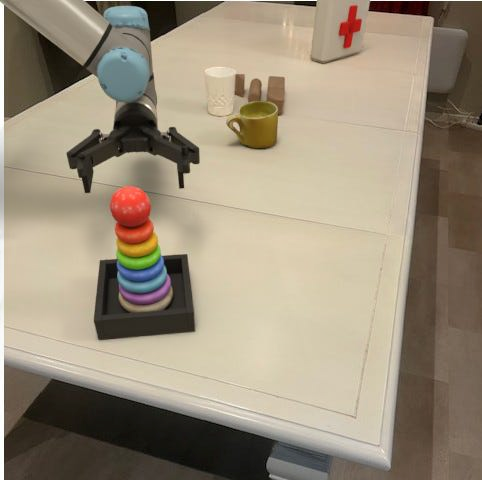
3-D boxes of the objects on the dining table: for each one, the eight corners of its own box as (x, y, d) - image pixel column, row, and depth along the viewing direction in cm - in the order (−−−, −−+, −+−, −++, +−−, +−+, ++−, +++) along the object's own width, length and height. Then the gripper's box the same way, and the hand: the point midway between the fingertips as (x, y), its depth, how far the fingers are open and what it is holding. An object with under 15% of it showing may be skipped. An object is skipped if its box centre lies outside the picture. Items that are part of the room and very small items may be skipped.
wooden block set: (285, 71, 137) (284, 94, 124) (283, 92, 141) (283, 116, 127) (225, 68, 137) (219, 90, 124) (225, 89, 141) (219, 112, 128)
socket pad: (98, 340, 67) (93, 320, 65) (103, 278, 77) (99, 260, 74) (195, 331, 69) (193, 312, 66) (188, 272, 79) (187, 253, 76)
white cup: (207, 105, 132) (206, 66, 125) (235, 106, 131) (236, 67, 125) (204, 116, 126) (203, 76, 119) (234, 117, 126) (235, 77, 119)
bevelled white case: (326, 65, 159) (335, -5, 146) (308, 60, 164) (315, -10, 150) (364, 54, 170) (377, -13, 156) (346, 49, 174) (357, -17, 160)
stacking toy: (122, 283, 75) (101, 172, 62) (174, 282, 76) (164, 171, 63) (116, 318, 69) (92, 204, 56) (172, 317, 70) (161, 203, 57)
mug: (276, 122, 119) (273, 88, 110) (284, 152, 114) (282, 118, 106) (227, 133, 120) (221, 99, 111) (234, 163, 115) (227, 130, 106)
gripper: (207, 141, 89) (219, 200, 74) (67, 146, 86) (51, 209, 71) (206, 99, 84) (219, 154, 69) (57, 103, 81) (37, 161, 66)
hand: (134, 182), depth 70 cm, fingers open, 13 cm apart
